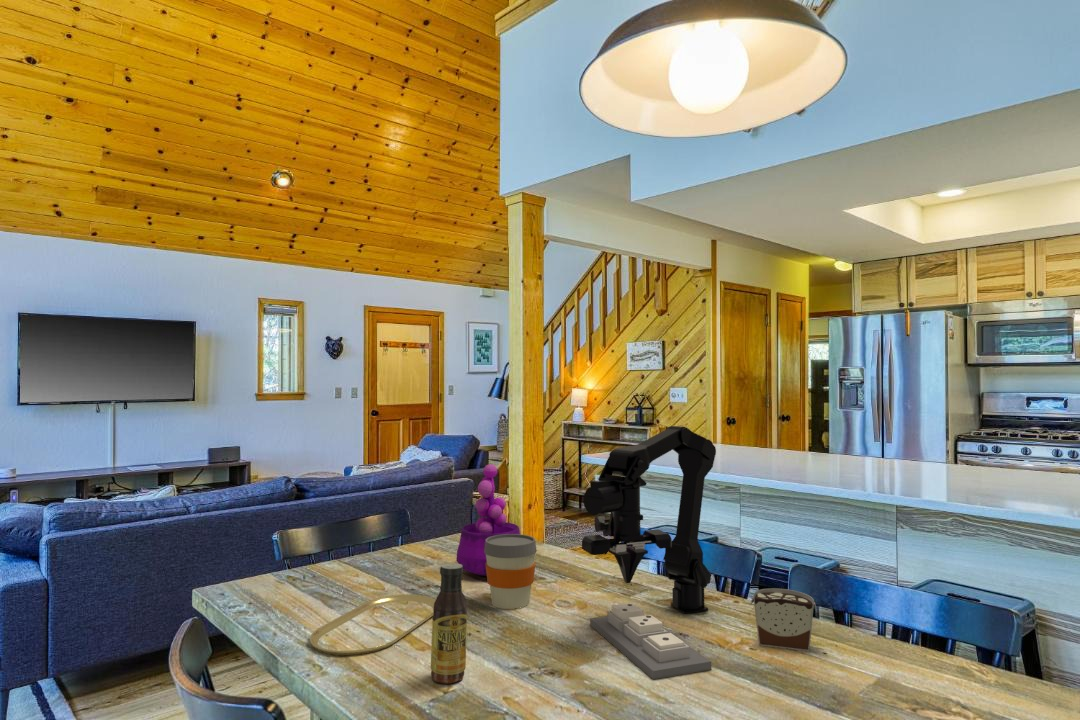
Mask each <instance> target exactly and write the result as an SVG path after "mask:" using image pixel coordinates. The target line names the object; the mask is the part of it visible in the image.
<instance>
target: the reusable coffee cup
mask: <svg viewBox="0 0 1080 720" xmlns="http://www.w3.org/2000/svg"><path fill="white" fill-rule="evenodd" d="M536 541H537V540H536V538H535V537H534V536H532V535H526V534H521V533H520V534H503V535H495V536H491V537H489V538H487V539H486V540H485V549H484V553H485V554H486V559H487V562H486V564H485V565H486V573H487V576H486V579H487V584H488V585H489V591H490V596H491V604H492V606H493V607H495V608H497V609H502V610H516V609H515V608H518V609H521V608H520V607H523V608H525V607H527V606H529V604H530V600H531V599H530V598H531V593H532V592H531V590H532V585H533V583H534V578H535V571H536V564H537V563H536V561H535V557H536V553H537V544H536V543H537V542H536ZM526 605H527V606H526ZM524 606H525V607H524Z"/></svg>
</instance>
